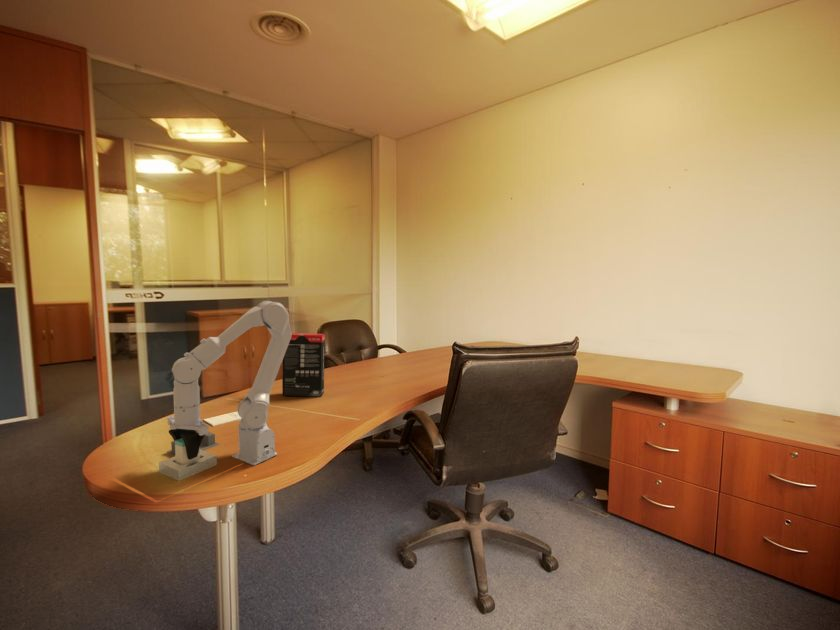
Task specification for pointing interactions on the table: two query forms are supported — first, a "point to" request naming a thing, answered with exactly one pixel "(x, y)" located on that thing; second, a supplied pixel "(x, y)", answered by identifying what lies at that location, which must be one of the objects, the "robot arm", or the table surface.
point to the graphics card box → (304, 365)
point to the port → (187, 466)
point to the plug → (182, 453)
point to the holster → (205, 444)
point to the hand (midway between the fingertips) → (188, 456)
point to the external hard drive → (223, 419)
